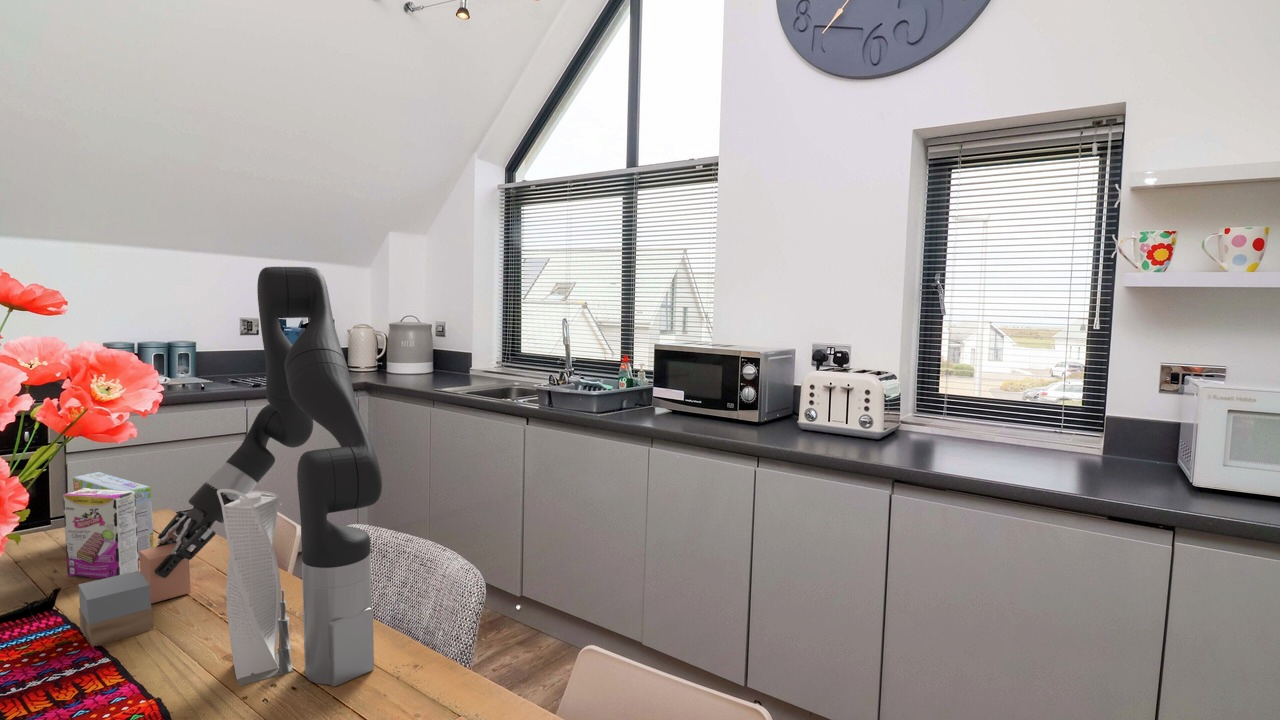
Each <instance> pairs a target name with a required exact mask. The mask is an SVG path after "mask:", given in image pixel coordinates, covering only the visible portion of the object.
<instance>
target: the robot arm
mask: <svg viewBox="0 0 1280 720" xmlns="http://www.w3.org/2000/svg"><path fill="white" fill-rule="evenodd" d="M256 285H257V288H256V289H257V305H258V314H259V323H260V331H261V337H262V338H261V340H262V345H263V350H264V357H265V368H266V369H265V370H266V372H265V373H266V377H265V397H266V400H267V402H268V403H269V404H267V405H265V406H264V407H263V408H261V409H260V411H259V412H258V413H257V415H256V416H255V419H254V421H253V423H252V424H251V427H250V428H249V430H248V432H247V434H246V436H244V437H245V438H244V439H243V441H242V443H241V445H239V447H238V448H237V449H236V450H235V451H234V453H233V454H232V455H231V456H230V457H229V458H228V459H227V460H226V461H225V462H224V463H223V464H222V465H221V466H219V467H218V468H217V469H216V470H215V471H214V472H213V474H211V475H210V476H209V477H208V478H207V479H206V480H205V482H204V483H203V484H202V485H201V486H200V487H199V489H198V490H196V491H195V493H194V494H193V495H192V496H190V498H189V499H188V503H189V505H191V506H192V508H191V509H190V510H189V511H188V512H184V511H182V510H179V511H178V512H177V513H176V514H175V515H174V517H173V518H172V519H171V520H170V521H169V522H168V524H167V525H166V526H165V527H164V529H163V530H162V531H161V532H160V534H159V535H158V536H157V539H158V542H157V545H156V546H155V547H160V546H164V545H168V544H172V543H177V544H176V546H175V547H174V549H173V551H172V552H171V554H169V555H168V556H167V557H166V559H165V560H164V561H163V562H162V563H161V564H160V565H159V566H158V567H157V569H156V570H155V573H156V574H157V575H159V576H161V577H163V578H166V577H167V576H168V575H169V574H170V573H171V572H172V571H173V570H174V568H175V567H176V566H177V565H178V564H179V563H180V562H181V561H182V560H185V559H188V560H189V561H190V560H192V559H193V558H194V557H195V556H196V555H197V554H199V552H200V551H201V550H202V549H203V548H204V547H205V546H206V545H207V544H208V543H209V542H210V540H212V539H213V538H214V537H215V536H216V531H214V530H213V529H211V528H212V527H213V525H214V523H215V522H216V521H217V522H218V523H219V524H224V519H223V512H222V506H221V503H220V500H219V497H218V494H217V491H218V490H220V489H231V490H235V491H238V492H241V493H243V494H247V493H248V492H249V491H254V489H255V487H256V486H257V484H258V483H259V482H260V481H261V480H262V479H263V478H264V476H266V474H267V473H268V472H269V470H270V469H272V467H273V466H274V465H275V463H276V458H275V456H274V455H273V453H272V452H271V451H270V450H269V449H268V448H267V445H268V442H269V439H270V438H271V439H273V440H274V441H275V442H278V443H280V444H281V445H283V446H285V447H288V448H291V449H292V448H294V449H295V448H298V447H302V446H303V445H304V444H306V443H307V442H308V441H309V439H310V437H311V436H312V432H313V429H314V422H315V423H317V424H319V426H321V427H322V428H324V429H325V430H327V432H329V433H330V434H331V435H332V436H333V437H334V438H335V440H336V441H337V442H338V443H337V444H338V445H339V447H330V448H320V449H314V450H307V451H305V452H304V453H302V454H301V456H300V458H299V460H298V462H297V471H296V477H297V478H296V480H297V481H296V482H297V491H298V502H299V515H300V533H301V534H300V535H301V537H300V538H301V539H300V540H301V577H302V580H301V581H302V582H301V583H302V584H301V585H302V612H303V615H302V618H303V622H302V623H303V652H304V676H305V677H306V679H307V680H308V681H310V682H311V683H315V684H320V685H321V684H322V685H330V686H332V687H336V686H337V687H338V686H339V685H341V684H344V683H346V682H349V681H351V680H353V679H356V678H358V677H360V676H362V675H365V674H367V673H370V672H371V671H373V670H375V656H374V655H375V654H374V653H375V652H374V651H375V649H374V646H375V645H374V644H375V642H374V610H373V608H372V578H371V577H372V576H371V575H372V573H371V572H372V567H371V564H372V563H371V562H372V561H371V560H372V559H371V556H372V555H371V547H372V546H371V538H370V535H369V533H368V532H367V531H365V530H363V529H361V528H358V527H354V526H348V525H342V524H338V523H334V522H333V521H330V520H328V518H327V516H328V514H331V513H337V512H344V511H345V512H346V511H350V510H356V509H357V510H358V509H361V508H365V507H370V506H373V505H374V504H376V503H377V502H378V501H379V500H380V498H381V495H382V491H383V480H382V479H383V478H382V477H383V476H382V471H381V467H380V463H379V460H378V458H377V454H376V451H375V449H374V446H373V444H372V441H371V438H370V437H369V433H368V432H367V428H366V427H365V424H364V422H363V419H362V416H361V413H360V411H359V407H358V404H357V403H358V402H357V400H356V395H355V392H354V388H353V383H352V379H351V375H350V372H349V369H348V365H347V360H346V358H345V355H344V352H343V350H342V346H341V344H340V341H339V337H338V333H337V329H336V326H335V323H334V321H335V320H334V318H333V317H334V316H333V311H332V306H331V299H330V296H329V290H328V286H327V285H328V284H327V281H326V278H325V276H324V275H323V273H322V272H321V271H320V270H319V269H317V267H316V268H315V267H312V266H311V267H310V266H267V267H266V266H265V267H264V268H262V269H261V270H260V271H259V274H258V277H257V284H256ZM299 318H300V319H301V318H302V319H304V318H306V319H310V320H309V322H308V324H307V326H306V327H305V329H304V331H303V332H302V333H301V334H300V335H299V337H297V339H296V340H295V342H294V343H292V342H290V340H289V339H288V338H287V336H286V335H285V333H284V332H283V330H282V328H281V324H280V320H279V319H299ZM220 494H221V497H222V500H223V503H224V505H226V504H228V503H231V502H234V501H236V500H239V497H240V496H239V495H237V494H233V493H228V492H222V493H220Z"/></svg>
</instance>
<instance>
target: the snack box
mask: <svg viewBox="0 0 1280 720" xmlns="http://www.w3.org/2000/svg"><path fill="white" fill-rule="evenodd" d="M72 485H73V491H76V490H80V489H83V488H92V489H106V490H121V491H134V492H135V499H136V521H137V542H138V561H140V554H139V551H142V550H146V549H151V548H155V542H154V541H155V540H154V527H153V524H154V523H153V510H152V509H153V508H152V506H153V505H152V492H151V486H150V485H146V484H143V483H142V484H141V483H139V482H135V481H132V480H128V479H124V478H120V477H117V476H114V475H110V474H107V473H104V472H100V471H97V472H92V473H85V474H82V475H77V476H73V477H72Z"/></svg>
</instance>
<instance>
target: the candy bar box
mask: <svg viewBox="0 0 1280 720" xmlns="http://www.w3.org/2000/svg"><path fill="white" fill-rule="evenodd" d="M62 497H63V498H62V499H63V516H64V532H65V534H64V535H65V546H66V548H65V549H66V563H67V564H66V565H67V566H66V567H67V576H68V577H76V578H87V579H89V578H90V579H105V578H109V577H113V576H118V575H122V574H126V573H131V572H135V571H139V572H140V561H139V560H138V542H137V521H136V499H135V492H134V491H121V490H106V489H92V488H83V489H80V490H76V491H74V490H73V491H71V492H67V493H65V494H63V495H62Z"/></svg>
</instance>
